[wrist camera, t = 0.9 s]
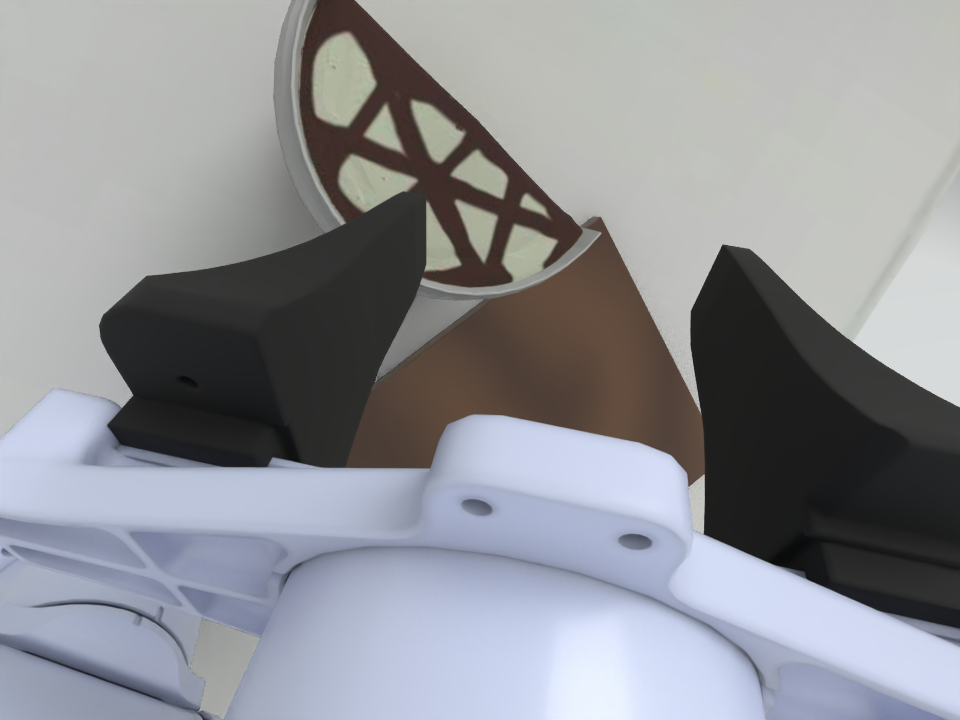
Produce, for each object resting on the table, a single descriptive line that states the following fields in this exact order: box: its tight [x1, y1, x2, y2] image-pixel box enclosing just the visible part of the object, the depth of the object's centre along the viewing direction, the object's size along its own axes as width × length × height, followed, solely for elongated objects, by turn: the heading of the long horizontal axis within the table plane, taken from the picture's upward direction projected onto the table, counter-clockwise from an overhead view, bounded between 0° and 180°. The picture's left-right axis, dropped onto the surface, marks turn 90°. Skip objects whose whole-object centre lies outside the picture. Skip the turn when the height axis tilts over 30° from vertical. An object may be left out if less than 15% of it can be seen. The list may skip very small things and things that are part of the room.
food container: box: [273, 0, 602, 300], centre depth 20 cm, size 12×6×10 cm, turn 48°
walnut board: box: [345, 217, 705, 487], centre depth 32 cm, size 20×20×1 cm
